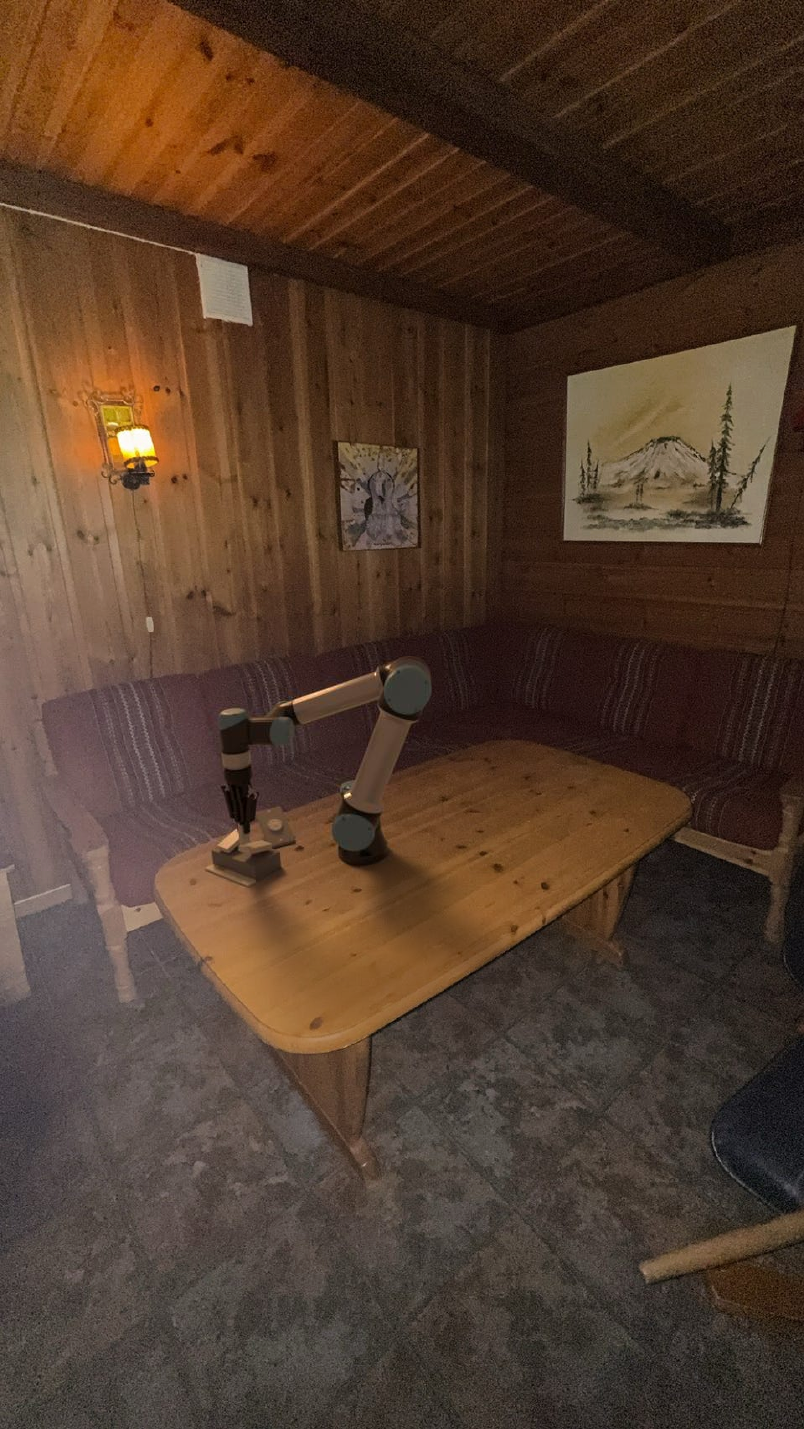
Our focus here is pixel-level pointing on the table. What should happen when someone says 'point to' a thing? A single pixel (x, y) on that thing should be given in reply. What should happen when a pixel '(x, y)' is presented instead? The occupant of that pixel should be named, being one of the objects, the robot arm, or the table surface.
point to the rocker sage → (255, 847)
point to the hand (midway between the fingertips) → (244, 842)
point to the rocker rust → (229, 842)
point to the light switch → (275, 827)
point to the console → (244, 865)
